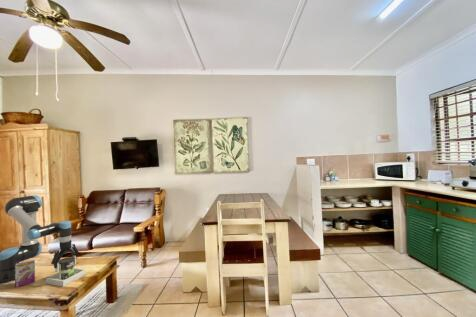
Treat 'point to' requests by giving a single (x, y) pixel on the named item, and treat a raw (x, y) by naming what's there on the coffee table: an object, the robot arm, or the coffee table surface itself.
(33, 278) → the candy bar box
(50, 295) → the coffee table surface
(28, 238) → the robot arm
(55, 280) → the tote
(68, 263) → the coffee can
